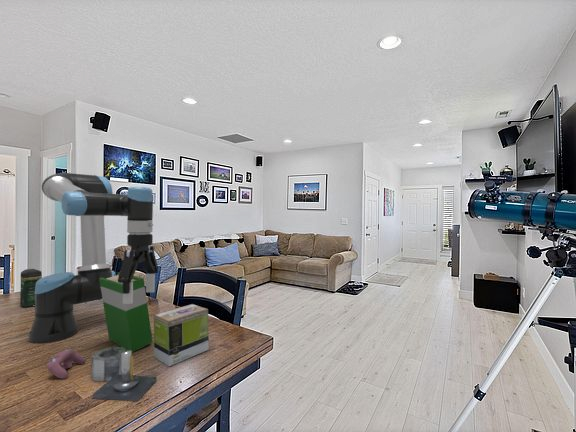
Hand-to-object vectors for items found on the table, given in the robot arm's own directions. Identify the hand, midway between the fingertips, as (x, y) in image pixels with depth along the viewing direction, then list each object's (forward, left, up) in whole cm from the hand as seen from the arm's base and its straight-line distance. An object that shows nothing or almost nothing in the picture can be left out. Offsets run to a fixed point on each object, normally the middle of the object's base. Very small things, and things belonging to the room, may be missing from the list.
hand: (139, 297), depth 97 cm
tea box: (+13, +3, -20) cm, 24 cm away
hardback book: (-10, +10, -20) cm, 24 cm away
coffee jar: (-87, +46, -20) cm, 101 cm away
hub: (-3, -11, -20) cm, 23 cm away
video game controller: (-17, -10, -20) cm, 28 cm away
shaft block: (+7, -18, -20) cm, 27 cm away
